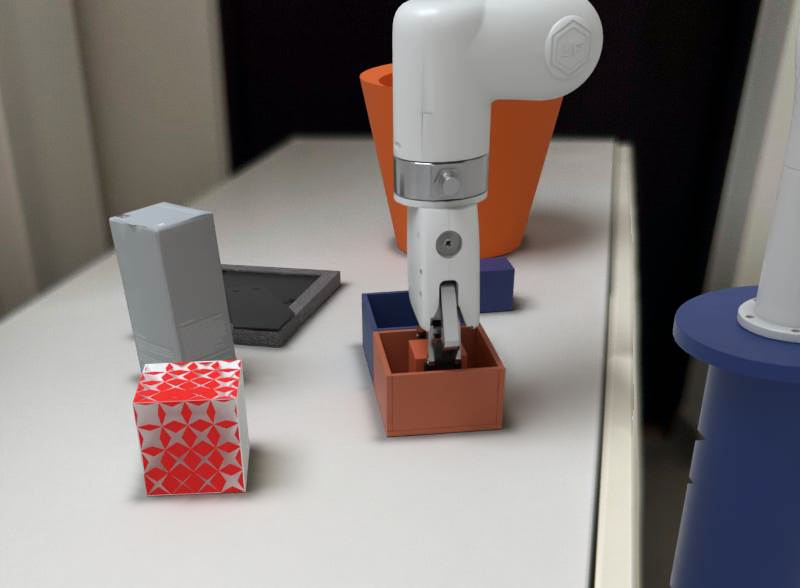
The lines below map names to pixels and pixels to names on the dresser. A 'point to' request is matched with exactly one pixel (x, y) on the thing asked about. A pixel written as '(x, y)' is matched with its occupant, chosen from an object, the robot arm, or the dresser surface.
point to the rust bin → (437, 387)
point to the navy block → (496, 284)
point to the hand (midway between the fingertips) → (437, 391)
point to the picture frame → (273, 300)
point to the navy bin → (386, 318)
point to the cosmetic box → (173, 284)
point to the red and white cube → (192, 427)
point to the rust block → (420, 355)
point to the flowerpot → (508, 161)
